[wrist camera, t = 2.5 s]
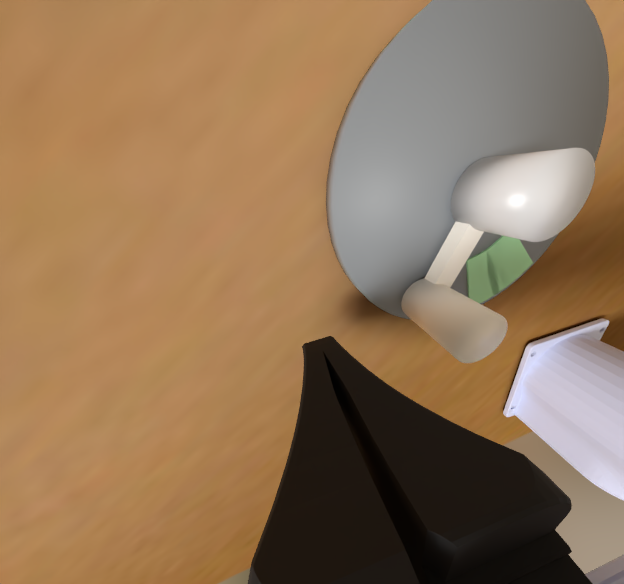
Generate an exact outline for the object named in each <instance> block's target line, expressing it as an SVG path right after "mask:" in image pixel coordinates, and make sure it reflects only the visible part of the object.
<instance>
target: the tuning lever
mask: <svg viewBox="0 0 624 584" xmlns="http://www.w3.org/2000/svg"><path fill="white" fill-rule="evenodd" d="M594 177H595V163H594V159H593V157H592V155H591V154H590V153H589V151H587V150H585V149H583V148H568V149H559V150H549V151H540V152H531V153H521V154H512V155H503V156H493V157H485V158H482V159H480V160H478V161H476V162H474V163H473V164H472V165H470V166H469V167H468V168H467V169H466V170H465V172H464V173H463V174H462V175H461V177H460V178H459V180H458V182H457V184H456V186H455V188H454V191H453V194H452V199H451V212H452V216H453V218H454V220H455V221H456V222H455V223H454V225H453V227H452V229H451V231H450V233H449V234H448V236H447V238H446V240H445V242H444V243H443V245H442V247H441V249H440V251H439V253H438V254H437V256H436V258H435V260H434V262H433V263H432V265H431V267H430V269H429V271H428V273H427V274H426V276H425V278H424V279H420V280H418V281H416V282H415V283H413V284H412V285H411V286H410V287H409V288H408V289H407V290H406V292H405V293H404V295H403V298H402V302H401V307H402V310H403V312H404V313H405V314H406V315H407V316H408V317H409V318H410V319H411V320H413V321H414V322H415V323H416V324H417V325H418V326H419V327H421V328H422V329H423V330H424V331H425V332H426V333H427V334H429V335H430V336H431V337H432V338H433V339H434V340H436V341H437V342H438V343H439V344H440V345H441V346H442V347H444V348H445V349H446V350H447V351H448V352H449V353H450V354H452V355H453V356H454V357H455V358H456V359H457V360H459V361H460V362H463V363H473V362H476V361H479V360H481V359H483V358H485V357H486V356H488V355H489V354H490V353H492V352H493V351H494V350H495V349H496V348H497V347H498V346H499V345H500V343H501V342H502V340H503V339H504V337H505V335H506V332H507V321H506V319H505V318H504V317H503V316H502V315H500V314H498V313H496V312H494V311H492V310H491V309H489V308H487V307H485V306H483V305H481V304H479V303H478V302H476V301H474V300H472V299H470V298H468V297H466V296H464V295H463V294H461V293H459V292H457V291H455V290H453V289H451V288H450V287H451V286H452V284H453V282H454V281H455V279H456V277H457V276H458V274H459V272H460V271H461V269H462V267H463V266H464V264H465V262H466V261H467V259H468V257H469V256H470V254H471V253H472V251H473V249H474V248H475V246H476V244H477V243H478V241H479V239H480V238H481V236H482V234H483V233H484V232H488V233H493V234H498V235H502V236H507V237H512V238H516V239H521V240H526V241H530V242H540V241H544V240H547V239H549V238H551V237H553V236H555V235H557V234H558V233H559V232H561V231H562V230H563V229H564V228H565V227H567V226H568V225H569V224H570V223H571V221H572V220H573V219H574V218H575V217H576V215H577V214H578V213H579V211H580V210H581V209H582V207H583V205H584V204H585V202H586V200H587V198H588V196H589V194H590V191H591V188H592V185H593V182H594Z"/></svg>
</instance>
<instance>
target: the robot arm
mask: <svg viewBox="0 0 624 584" xmlns="http://www.w3.org/2000/svg"><path fill="white" fill-rule="evenodd" d="M608 324H609V320H606V319H604V318H602V319H598V320H595V321H592V322H589V323H586V324H583V325H581V326H578V327H575V328H572V329H569V330H566V331H563V332H560V333H557V334H554V335H551V336H548V337H546V338H543V339H540V340H537V341H534V342H531V343H529V344H528V345H527V346H526V348H525V351H524V354H523V356H522V359H521V362H520V365H519V368H518V371H517V374H516V377H515V379H514V382H513V385H512V388H511V391H510V394H509V397H508V399H507V402H506V405H505V408H504V411H503V414H504V415H505V416H506V417H510V416H513V415H516V416H517V417H518V418H519V419H520V420H521V421H522V422H524V423H525V424H526V425H527V426H528V427H529V428H530V429H531V430H533V431H534V432H535V433H536V434H537V435H538V436H539V437H540V438H542V439H543V440H544V441H545V442H546V443H547V444H548V445H549V446H551V447H552V448H553V449H554V450H555V451H556V452H557V453H558V454H559V455H561V456H562V457H563V458H564V459H565V460H566V461H567V462H569V463H570V464H571V465H572V466H573V467H574V468H575V469H576V470H577V471H579V472H580V473H581V474H582V475H583V476H584V477H586V478H587V479H588V480H589V481H591V482H592V483H593V484H595V485H596V486H598V487H599V488H601V489H603V490H605V491H606V492H608V493H610V494H612V495H613V496H615V497H617V498H619V499H621V500H624V351H621V350H619V349H617V348H615V347H613V346H610V345H608V344H606V343H604V342H602V341H600V339H601V337H602V336H603V334H604V332H605V330H606V328H607V326H608ZM302 348H303V353H304V375H303V387H302V394H301V402H300V408H299V414H298V419H297V423H296V428H295V432H294V437H293V440H292V444H291V448H290V452H289V456H288V459H287V463H286V466H285V470H284V473H283V476H282V479H281V482H280V485H279V488H278V491H277V494H276V497H275V501H274V503H273V506H272V509H271V512H270V515H269V517H268V520H267V523H266V525H265V528H264V531H263V533H262V536H261V539H260V541H259V544H258V547H257V549H256V552H255V555H254V557H253V560H252V564H251V569H250V575H249V580H248V584H624V555H622V556H620V557H618V558H616V559H614V560H612V561H610V562H608V563H606V564H604V565H602V566H600V567H598V568H596V569H594V570H592V571H590V572H588V573H586V574H584V573H583V572H582V570H580V568H579V567H578V566H577V565H576V563H575V562H574V561H573V560H572V559H571V558H570V556H569V555H568V554H570V553H571V552H572V551H571V549H570V547H569V546H568V545H567V543H565V541H564V540H563V539H562V538H561V536H560V535H559V534H558V533H557V532H556V531H555V529H556V527H557V526H558V525H559V524H560V523H561V522H562V520H563V519H564V518H565V517H566V516H567V514H568V513H569V512H570V510H571V500H570V498H569V497H568V496H567V495H566V494H565V493H564V492H563V491H562V490H561V489H560V488H559V487H558V486H557V485H556V484H555V483H554V482H553V481H552V480H551V479H550V478H549V477H548V476H547V475H546V474H545V473H543V471H541V470H540V469H539V468H538V467H537V466H536V465H534V464H533V463H532V462H531V461H530V460H529V459H528V458H527V457H525V456H524V455H523V454H521V453H519V452H516V451H514V450H512V449H509V448H507V447H505V446H502V445H500V444H498V443H495V442H493V441H491V440H488V439H486V438H484V437H482V436H480V435H477V434H475V433H473V432H471V431H469V430H467V429H465V428H463V427H461V426H459V425H457V424H455V423H453V422H451V421H449V420H447V419H445V418H443V417H441V416H439V415H438V414H436V413H434V412H432V411H430V410H428V409H426V408H425V407H423V406H421V405H419V404H418V403H416V402H414V401H413V400H411V399H409V398H408V397H406V396H404V395H403V394H401V393H400V392H398V391H397V390H395V389H394V388H392V387H391V386H389V385H388V384H386V383H385V382H384V381H382V380H381V379H379V378H378V377H377V376H375V375H374V374H373V373H372V372H370V371H369V370H368V369H366V368H365V367H364V366H363V365H362V364H361V363H359V362H358V361H357V360H356V359H355V358H353V357H352V356H351V355H350V354H349V353H348V352H347V351H346V350H345V349H344V348H343V347H342V346H341V345H340V344H339V343H338V342H337V341H336V340H335V339H334V338H333V337H332V336H329V337H325V338H322V339H319V340H315V341H312V342H309V343H305V344H304V345H303V346H302Z"/></svg>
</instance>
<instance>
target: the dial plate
mask: <svg viewBox="0 0 624 584" xmlns="http://www.w3.org/2000/svg"><path fill="white" fill-rule="evenodd" d="M608 91H609V74H608V62H607V54H606V49H605V45H604V40H603V36H602V33H601V30H600V28H599V25H598V23H597V20H596V18H595V15H594V14H593V12H592V11H591V9H590V7H589V6H588V4H587V3H586V1H585V0H432V1H431V2H430V3H429V4H428V5H427V6H426V7H425V8H424V9H422V10H421V11H420V12H419V13H418V14H417V15H416V16H415V17H413V18H412V19H411V20H410V21H409V22H408V23H407V24H406V25H405V26H404V27H403V28H402V29H401V30H400V32H399V33H398V34H397V35H396V36H395V37H394V38H393V39H392V40H391V41H390V42H389V44H388V45H387V46H386V47H385V48H384V49H383V51H382V52H381V53H380V54H379V55H378V56H377V58H376V59H375V60H374V62H373V63H372V65H371V66H370V68H369V69H368V71H367V72H366V74H365V75H364V77H363V78H362V80H361V81H360V83H359V85H358V87H357V89H356V90H355V92H354V94H353V96H352V98H351V100H350V102H349V104H348V106H347V108H346V111H345V113H344V116H343V119H342V121H341V124H340V126H339V129H338V132H337V135H336V139H335V142H334V146H333V150H332V154H331V158H330V164H329V171H328V177H327V192H326V209H327V221H328V228H329V233H330V237H331V242H332V245H333V248H334V251H335V254H336V256H337V259H338V261H339V263H340V265H341V267H342V269H343V271H344V272H345V274H346V275H347V277H348V278H349V279H350V281H351V282H352V283H353V285H354V286H355V287H356V288H357V289H358V290H359V291H360V292H361V293H362V294H363V295H364V296H365V297H366V298H367V299H368V300H369V301H370V302H372V303H373V304H374V305H376V306H377V307H379V308H380V309H382V310H384V311H386V312H388V313H390V314H392V315H395V316H398V317H401V318H405V319H410V318H409V317H408V316H407V315H406V314H405V313H404V312H403V310H402V307H401V302H402V298H403V295H404V293H405V292H406V290H407V289H408V288H409V287H410V286H411V285H412V284H413V283H415V282H416V281H418V280H420V279H424V278H425V276H426V274H427V273H428V271H429V269H430V267H431V265H432V263H433V262H434V260H435V258H436V256H437V254H438V253H439V251H440V249H441V247H442V245H443V243H444V242H445V240H446V238H447V236H448V234H449V233H450V231H451V229H452V227H453V225H454V223H455V222H456V221H455V220H454V218H453V216H452V212H451V199H452V194H453V191H454V188H455V186H456V184H457V182H458V180H459V178H460V177H461V175H462V174H463V173H464V172H465V170H466V169H467V168H468V167H469V166H470V165H472V164H473V163H474V162H476V161H478V160H480V159H482V158H485V157H493V156H503V155H512V154H521V153H531V152H540V151H549V150H559V149H568V148H583V149H585V150H587V151H589V153H590V154H591V155H592V157H593V159H594V163H595V160H596V157H597V154H598V151H599V147H600V144H601V140H602V135H603V131H604V126H605V121H606V114H607V106H608ZM558 234H559V233H558ZM558 234H557V235H558ZM557 235H555V236H553V237H551V238H549V239H547V240H544V241H540V242H530V241H526V240H521V239H516V238H512V237H507V236H502V235H498V234H493V233H488V232H484V233H483V234H482V236H481V238H480V239H479V241H478V243H477V244H476V246H475V248H474V249H473V251H472V253H471V254H470V256H469V257H468V259H467V261H466V262H465V264H464V266H463V267H462V269H461V271H460V272H459V274H458V276H457V277H456V279H455V281H454V282H453V284H452V286H451V287H450V288H451V289H453V290H455V291H457V292H459V293H461V294H463V295H464V296H466V297H468V298H470V299H472V300H474V301H476V302H478V303H479V304H481V305H482V304H484V303H486V302H487V301H489V300H491V299H492V298H494V297H496V296H497V295H498V294H500V293H501V292H503V291H504V290H505V289H507V288H508V287H509V286H511V285H512V284H513V283H514V282H515V281H516V280H518V279H519V278H520V277H521V276H522V275H523V274H524V273H525V272H526V271H527V270H528V269H529V268H530V267H531V266H532V265H533V264H534V263H535V262H536V261H537V260H538V259H539V258H540V257H541V255H542V254H543V253H544V252H545V251H546V250H547V248H548V247H549V246H550V244H551V243H552V242H553V241H554V239H555V238H556V237H557Z"/></svg>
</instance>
